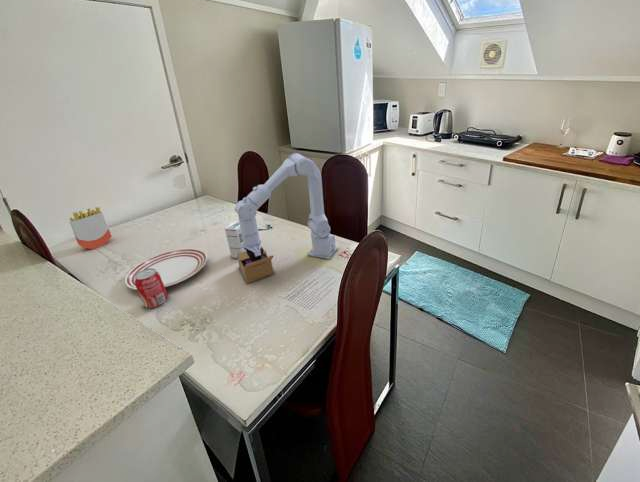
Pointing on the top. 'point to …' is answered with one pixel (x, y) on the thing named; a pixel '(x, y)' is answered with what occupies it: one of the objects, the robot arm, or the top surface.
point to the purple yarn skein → (251, 261)
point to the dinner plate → (171, 266)
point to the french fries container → (90, 229)
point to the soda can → (150, 287)
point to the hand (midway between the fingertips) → (256, 263)
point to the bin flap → (258, 262)
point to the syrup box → (234, 238)
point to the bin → (255, 271)
